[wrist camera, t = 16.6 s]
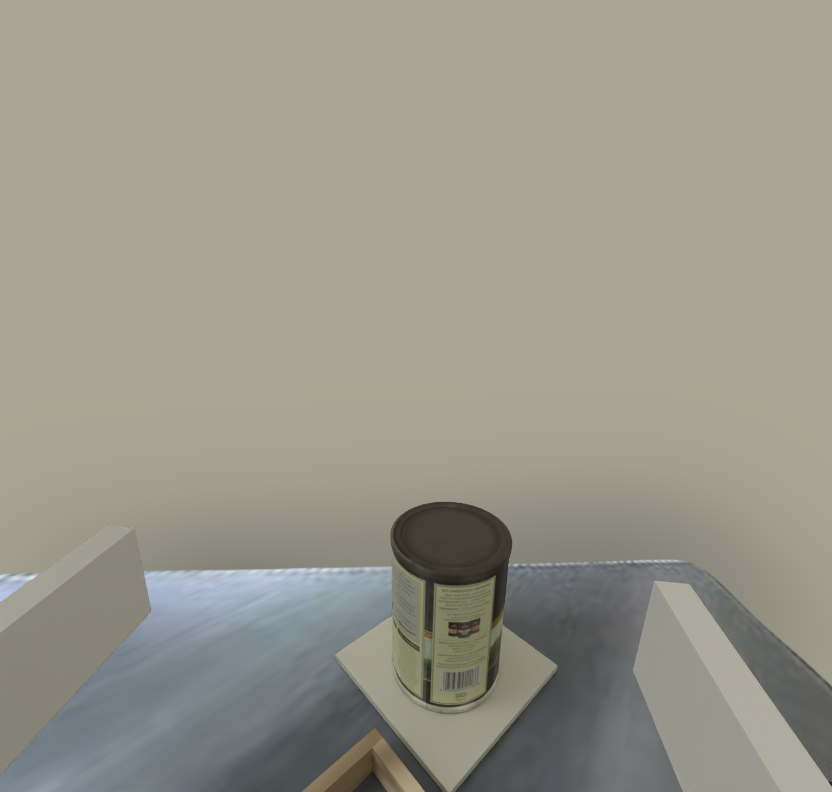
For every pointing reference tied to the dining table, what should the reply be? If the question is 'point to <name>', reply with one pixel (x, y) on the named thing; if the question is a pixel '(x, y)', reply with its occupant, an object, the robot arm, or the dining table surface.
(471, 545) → the coffee can
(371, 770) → the birch frame
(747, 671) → the robot arm
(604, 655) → the dining table surface
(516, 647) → the white square board
